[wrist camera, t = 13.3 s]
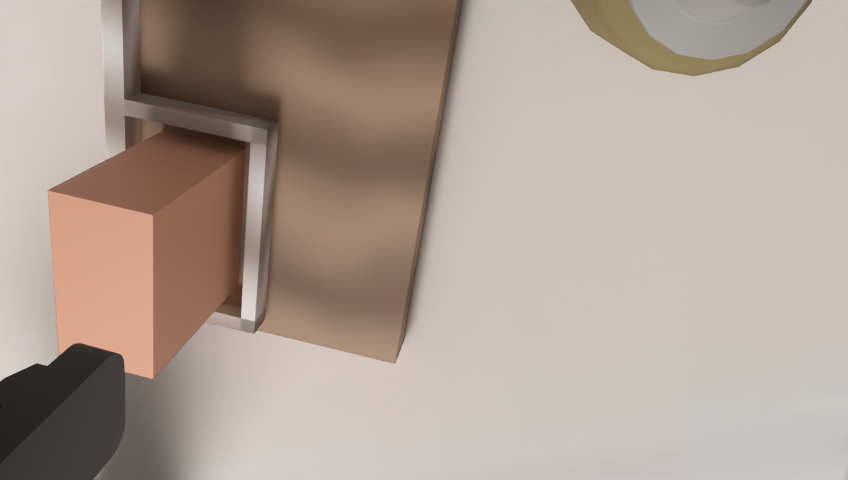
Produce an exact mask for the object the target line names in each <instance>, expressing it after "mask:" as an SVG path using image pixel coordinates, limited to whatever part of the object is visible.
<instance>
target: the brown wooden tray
mask: <svg viewBox="0 0 848 480" xmlns="http://www.w3.org/2000/svg"><path fill="white" fill-rule="evenodd" d="M461 5H462V0H101V19H102V47H103V74H104V102H105V129H106V157H107V159H109V158H111V157H113V156H115V155H117V154H119V153H121V152H123V151H125V150H127V149H129V148H130V147H132V146H134V145H136V144H138V143H140V142H142V141H144V140H146V139H148V138H150V137H152V136H154V135H155V134H157V133H159V132H161V131H165V132H170V133H174V134H179V135H183V136H188V137H192V138H197V139H201V140H206V141H210V142H215V143H219V144H224V145H228V146H233V147H237V148H242V149H246V153H245V170H244V187H243V205H242V222H241V239H240V256H239V274H238V286H237V287H236V288H235V289H234V290H233V291H232V293H231V294H230V295H229V296H228V297H227V298H226V299H225V300H224V301H223V303H222V304H221V305H220V306H219V307H218V308H217V309H216V310H215V311H214V313H213V314H212V315H211V316H210V317H209V318H208V319H207V320H206V321H205V322H207V323H211V324H215V325H220V326H224V327H228V328H232V329H236V330H240V331H244V332H248V333H252V334H254V333H255V332H256V331H257V330H258V331H262V332H266V333H270V334H274V335H278V336H283V337H287V338H291V339H295V340H299V341H303V342H307V343H311V344H316V345H320V346H324V347H328V348H332V349H336V350H340V351H344V352H349V353H353V354H357V355H361V356H365V357H369V358H373V359H377V360H382V361H386V362H390V363H394V364H395V363H396V360H397V358H398V355H399V352H400V350H401V347H402V345H403V339H404V333H405V328H406V322H407V316H408V310H409V304H410V299H411V293H412V287H413V281H414V276H415V270H416V264H417V258H418V253H419V247H420V241H421V235H422V230H423V224H424V218H425V212H426V207H427V201H428V195H429V189H430V183H431V178H432V172H433V166H434V160H435V155H436V149H437V143H438V137H439V132H440V126H441V120H442V114H443V109H444V103H445V97H446V91H447V86H448V80H449V74H450V68H451V62H452V57H453V51H454V45H455V39H456V34H457V28H458V22H459V16H460V11H461Z"/></svg>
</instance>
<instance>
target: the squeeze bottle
mask: <svg viewBox="0 0 848 480" xmlns="http://www.w3.org/2000/svg"><path fill="white" fill-rule="evenodd" d="M571 1H572V3H573V4H574V6H575V7H576V9H577V11H578V12H579V14H580V15H581V17H582V18H583V20H584V21H585V23H586V24H587V26H588V27H589V29H590V30H591V31H592V32H594V33H595V34H597V35H598V36H600V37H601V38H603V39H604V40H606V41H608V42H609V43H611V44H612V45H614V46H615V47H617V48H618V49H620V50H622V51H623V52H625V53H626V54H628V55H630V56H631V57H633V58H635V59H636V60H638V61H640V62H641V63H643V64H645V65H646V66H648V67H649V68H651V69H654V70H660V71H666V72H672V73H678V74H684V75H690V76H697V75H702V74H707V73H711V72H716V71H721V70H725V69H730V68H735V67H739V66H741V65H742V64H744V63H745V62H747V61H749V60H750V59H752V58H753V57H755V56H757V55H758V54H760V53H762V52H763V51H765V50H766V49H768V48H770V47H771V46H773V45H774V44H776V43H778V42H779V41H780V40H781V39H782V38H783V37H784V35H785V34H786V33H787V32H788V30H789V29H790V28H791V27H792V25H793V24H794V23H795V22H796V21H797V19H798V18H799V17H800V16H801V14H802V13H803V12H804V11H805V9H806V8H807V7H808V6H809V5H810V3H811V2H812V0H571Z"/></svg>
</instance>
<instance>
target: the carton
mask: <svg viewBox="0 0 848 480" xmlns="http://www.w3.org/2000/svg"><path fill="white" fill-rule="evenodd" d="M245 153H246V149H242V148H237V147H233V146H228V145H224V144H219V143H215V142H210V141H206V140H201V139H197V138H192V137H188V136H183V135H179V134H174V133H170V132H165V131H161V132H159V133H157V134H155V135H154V136H152V137H150V138H148V139H146V140H144V141H142V142H140V143H138V144H136V145H134V146H132V147H130V148H129V149H127V150H125V151H123V152H121V153H119V154H117V155H115V156H113V157H111V158H109V159H107V160H105V161H103V162H102V163H100V164H98V165H96V166H94V167H92V168H90V169H88V170H86V171H84V172H82V173H80V174H78V175H76V176H75V177H73V178H71V179H69V180H67V181H65V182H63V183H61V184H59V185H57V186H55V187H53V188H51V189H49V190H48V204H49V218H50V232H51V247H52V261H53V275H54V289H55V304H56V318H57V332H58V346H59V355H61V354H62V353H63V352H64V351H65V350H66V349H67V348H69V347H70V346H71V345H73V344H76V343H82V344H86V345H89V346H93V347H97V348H100V349H104V350H108V351H111V352H115V353H118V354H121V355H122V357H123V359H124V365H125V372H127V373H131V374H135V375H139V376H143V377H146V378H150V379H154V378H155V377H156V376H157V375H158V373H159V372H160V371H161V370H162V369H163V368H164V367H165V366H166V365H167V363H168V362H169V361H170V360H171V359H172V358H173V357H174V356H175V355H176V353H177V352H178V351H179V350H180V349H181V348H182V347H183V346H184V345H185V344H186V342H187V341H188V340H189V339H190V338H191V337H192V336H193V335H194V334H195V332H196V331H197V330H198V329H199V328H200V327H201V326H202V325H203V324H204V322H205V321H206V320H207V319H208V318H209V317H210V316H211V315H212V314H213V313H214V311H215V310H216V309H217V308H218V307H219V306H220V305H221V304H222V303H223V301H224V300H225V299H226V298H227V297H228V296H229V295H230V294H231V293H232V291H233V290H234V289H235V288H236V287H237V286H238V274H239V256H240V239H241V222H242V205H243V187H244V170H245Z"/></svg>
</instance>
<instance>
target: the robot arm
mask: <svg viewBox="0 0 848 480" xmlns="http://www.w3.org/2000/svg"><path fill="white" fill-rule="evenodd" d="M124 427H125V365H124V359H123V357H122V355H121V354H118V353H115V352H111V351H108V350H104V349H100V348H97V347H93V346H89V345H86V344H82V343H76V344H73V345H71V346H70V347H69V348H67V349H66V350H65V351H64V352H63V353H62V354H61V355H60V356H58V357H57V358H56V359H55V360H54V361H53V362H52V363H51V364H49V365H48V366H45V365H41V364H38V363H37V364H35V365H32V366H30V367H28V368H26V369H24V370H22V371H19V372H17V373H15V374H13V375H11V376H8V377H6V378H4V379H3V380H2V381H1V382H0V480H93V479H94V477H95V476H96V475H97V474H98V473H99V471H100V470H101V469H102V468H103V467H104V465H105V464H106V463H107V462H108V461H109V459H110V458H111V457H112V455H113V454H114V452H115V451H116V449H117V447H118V445H119V443H120V440H121V438H122V435H123V431H124Z"/></svg>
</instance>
